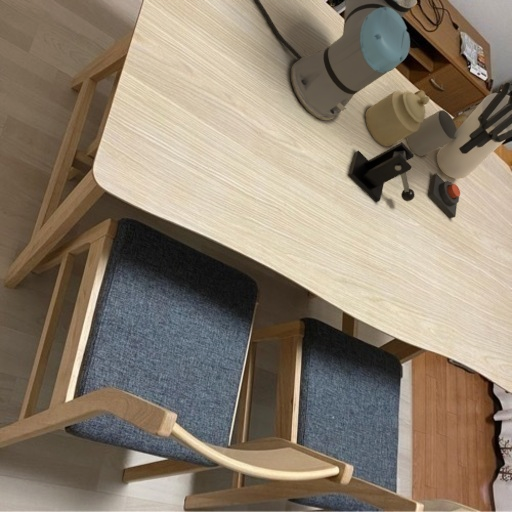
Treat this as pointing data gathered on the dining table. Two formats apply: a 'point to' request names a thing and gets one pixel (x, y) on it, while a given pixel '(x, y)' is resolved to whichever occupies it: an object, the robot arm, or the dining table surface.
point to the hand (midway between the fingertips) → (462, 151)
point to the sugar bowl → (396, 116)
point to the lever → (405, 181)
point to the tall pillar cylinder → (450, 154)
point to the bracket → (379, 169)
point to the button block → (442, 195)
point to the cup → (432, 133)
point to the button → (453, 191)
